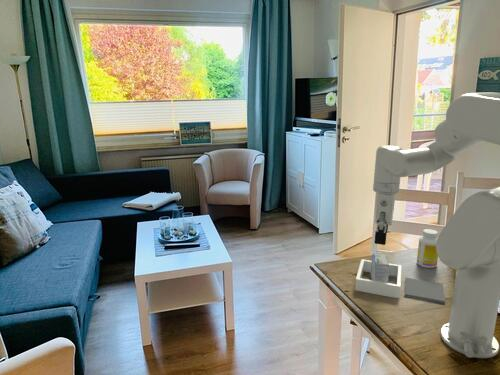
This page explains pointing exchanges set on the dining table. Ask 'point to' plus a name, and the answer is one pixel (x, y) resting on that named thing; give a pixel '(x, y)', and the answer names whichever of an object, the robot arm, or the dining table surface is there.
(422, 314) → the dining table surface
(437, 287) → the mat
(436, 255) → the supplement bottle
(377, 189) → the robot arm
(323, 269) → the dining table surface
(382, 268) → the medicine box
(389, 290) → the bin
